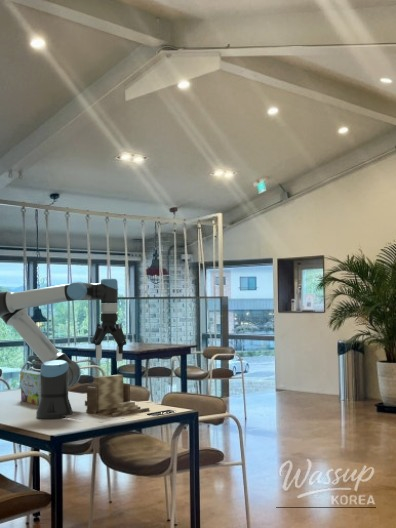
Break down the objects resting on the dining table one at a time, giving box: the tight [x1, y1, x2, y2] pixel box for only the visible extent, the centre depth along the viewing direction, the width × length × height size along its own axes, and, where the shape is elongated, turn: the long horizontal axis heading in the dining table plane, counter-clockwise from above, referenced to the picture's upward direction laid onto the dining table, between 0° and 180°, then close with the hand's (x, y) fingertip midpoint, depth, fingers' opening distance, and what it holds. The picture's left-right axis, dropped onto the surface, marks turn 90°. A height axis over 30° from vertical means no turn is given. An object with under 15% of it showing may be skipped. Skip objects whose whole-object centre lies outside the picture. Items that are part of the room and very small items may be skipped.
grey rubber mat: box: [146, 409, 175, 416], centre depth 288 cm, size 14×11×1 cm
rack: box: [84, 382, 151, 418], centre depth 286 cm, size 22×19×12 cm
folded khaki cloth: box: [93, 374, 124, 410], centre depth 291 cm, size 14×3×15 cm, turn 137°
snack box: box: [20, 369, 41, 406], centre depth 327 cm, size 21×6×15 cm, turn 37°
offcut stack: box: [116, 400, 139, 413], centre depth 282 cm, size 9×4×4 cm, turn 137°
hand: (108, 360), depth 294 cm, fingers open, 13 cm apart
